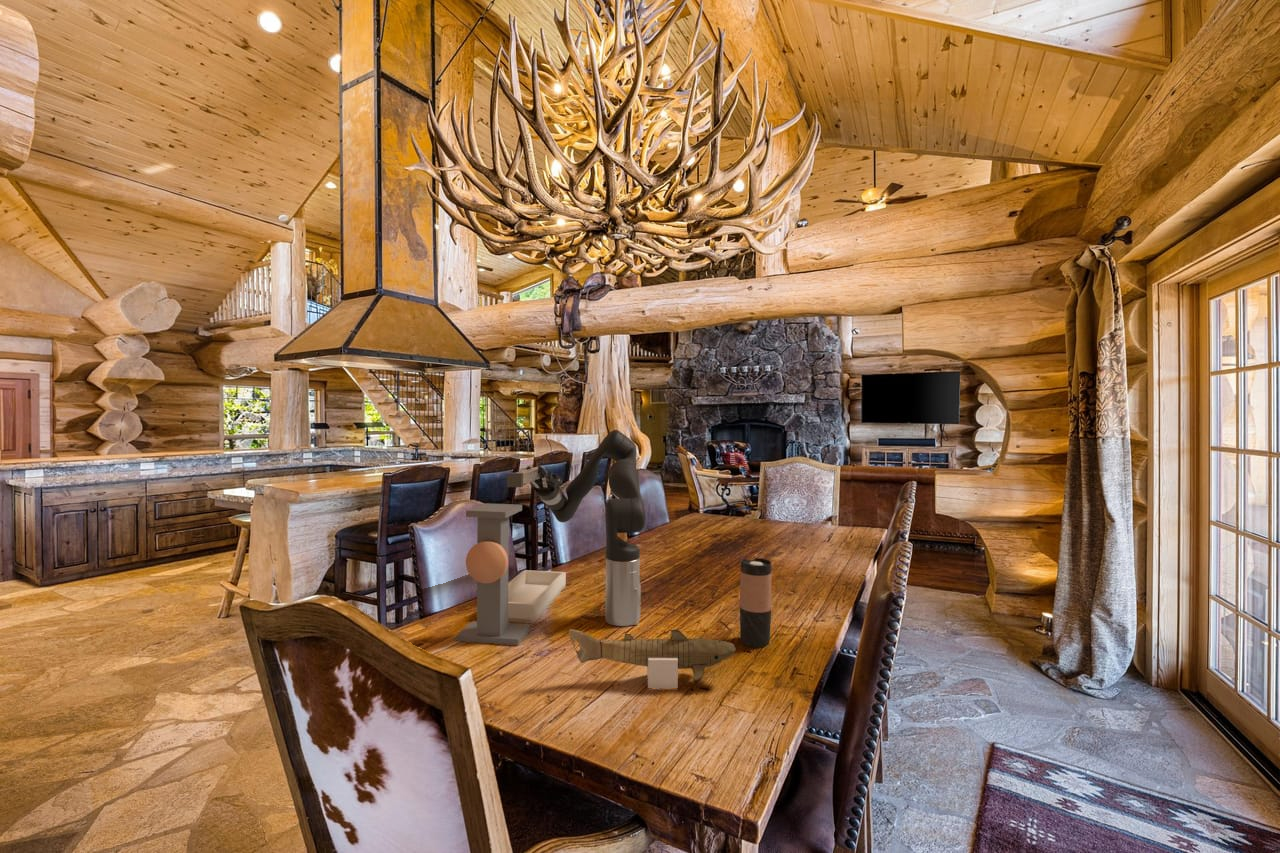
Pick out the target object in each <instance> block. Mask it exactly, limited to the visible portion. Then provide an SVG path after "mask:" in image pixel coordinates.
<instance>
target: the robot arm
mask: <svg viewBox="0 0 1280 853" xmlns="http://www.w3.org/2000/svg"><path fill="white" fill-rule="evenodd" d="M605 455H606V456H607V457H609V458H610V459H612V460H613V461H614V463H612V465H611V466H610V467H609V469H608V474H607V476H608V486H609V488H610V491H611V492H612V493H613V494H614V495H615V496H616V497H618V498H610V499H608V500H607V501H606V504H605V537H606V538H605V539H606V542H605V544H606V545H605V547H606V548H605V605H604V607H605V609H604V610H605V611H604V614H605V618H604V620H605V622H606V623H607V624H609V625H611V626H616V627H628V626H637V625H638V623H639V622H640V619H641V594H642V593H641V591H642V590H641V588H642V587H641V582H640V564H641V563H640V562H641V561H640V558H641V555H640V554H641V553H640V547H639V546H638V545H637V544H634V543H631V542H630V541H629V542H628V541H625V540H624V539H622V538H621V537H619V536H618V534H631V533H632V534H634V533H640V532H642V531H643V530H644V528H645V525H646V522H647V518H646V517H647V516H646V508H645V505H644V501H643V496H642V494H641V489H640V481H639V480H640V479H639V474H638V468H637V445H636V444H635V442H634V441H633V440H632V439H630V438H629V437H628V436H626V435H625V434H624V433H622V432H621V431H620V430H618V429H614V430H611V431H610V432H609V433H607V435H606V436H605V437H604V438H603V439H602V440H601V442H600V444H599V445H598V446H597V448H596V449H595V450H594V452H593V454H592V455H591V456H590V457H589V459H588V461H587V462H586V463H585V465H584V466H583V468H582V469H581V471H579V473H578V474H577V475H576V476H575V477H574V479H573V480H572V481H571V482H570V483H569V484H568V485H567V487H566V488H565V493H566V495H565V493H564V492H563V491H562V488H561V486H563V485H562V484H563V477H561V476H560V475H559V474H556V473H555V472H553V471H549V472H548V471H547V470H546V469H545V470H544V469H543V468H542V467H543V466H541V465H540V466H537V467H538V474H539V475H540V477H542V478H540V479H537V480H534V481H531V482H528V483H526V484H523V486H525V485H527V484H530V486H531V487H533V490H534V493H535V494H536V495H537V496H538V497H539V499H540V500H541V501H542V502H543V503H545V505H546V506H547V507H548V509H549V510H550V512H551V513H552V514H553V516H554V517H555V519H556V520H557V522H559V523H567V522H569V521H570V520H571V519H572V518H574V516H575V514H576V512H577V510H578V508H579V506H580V505H581V502H582V501H583V499H584V498H585V497H586V496H587V495H588V494H589V493H590V492H591V491H592V489H593V488H594V486H595V484H596V483H597V477H598V471H599V466H600V462H601V461H602V459H603V457H604V456H605ZM531 468H532V467H531V466H530V465H529V466H528V465H527V467H526V468H525V470H527V469H531Z"/></svg>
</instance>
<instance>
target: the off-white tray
mask: <svg viewBox="0 0 1280 853" xmlns="http://www.w3.org/2000/svg"><path fill="white" fill-rule="evenodd" d="M566 574H567V572H566V571H565V572H564V571H550V570H530V569H529V570H528V569H525V570H523V571H521V572H520V573H519V574H517V575H516V576H515V577H514V578H513V579H511V580H509V581H508V622H511V623H524V622H530V623H529V624H535V623H534V622H536V621H537V620H538V619H539V618H540V617H541V616H542V615H543V614H542V613H544V612H545V611H546V610H547V609H548V608H549V607H550V606H551V605H552V604H553V602H554V601H555V600H556V599H557V598H558V597H559V596H560V595H561V593H562V592H563V591H564V590H565V589H566V588H565V587H566V586H567V584H566V579H567V578H566V577H567V576H566ZM564 588H565V589H564ZM563 589H564V590H563ZM562 590H563V591H562ZM561 591H562V592H561ZM557 596H558V597H557ZM556 597H557V598H556ZM555 598H556V599H555ZM554 599H555V600H554ZM553 600H554V601H553ZM550 604H551V605H550ZM549 605H550V606H549ZM548 606H549V607H548ZM547 607H548V608H547ZM541 614H542V615H541ZM540 615H541V616H540ZM539 616H540V617H539Z"/></svg>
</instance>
